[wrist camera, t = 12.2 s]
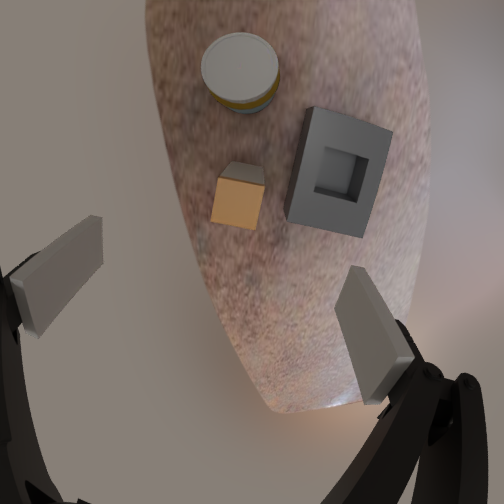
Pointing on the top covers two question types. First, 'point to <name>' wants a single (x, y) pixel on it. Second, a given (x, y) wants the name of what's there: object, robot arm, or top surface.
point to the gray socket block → (336, 172)
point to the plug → (239, 195)
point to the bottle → (241, 72)
